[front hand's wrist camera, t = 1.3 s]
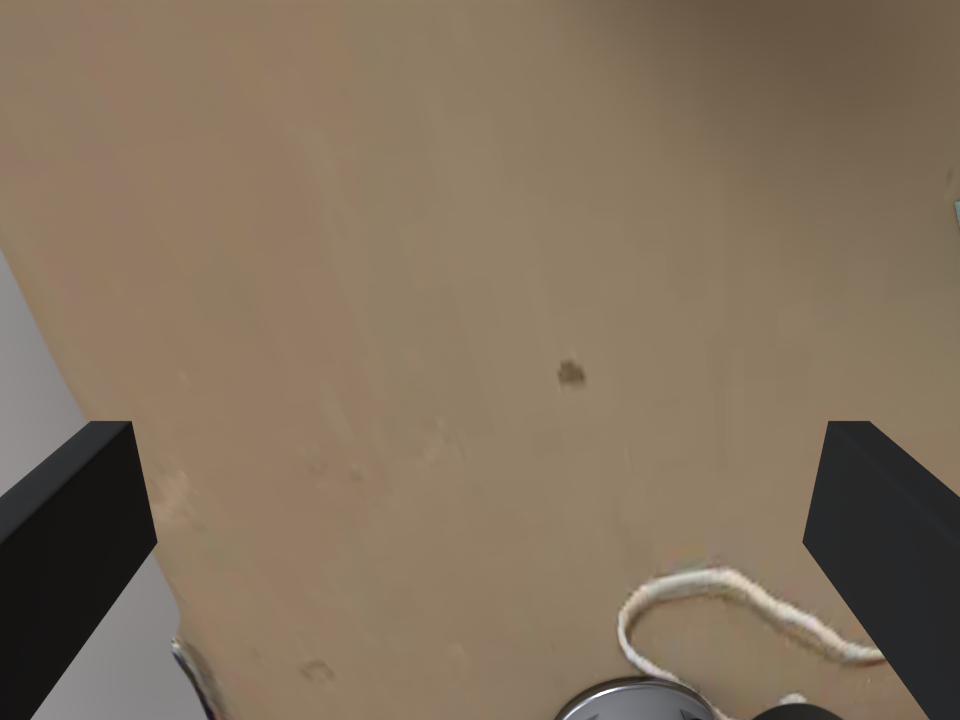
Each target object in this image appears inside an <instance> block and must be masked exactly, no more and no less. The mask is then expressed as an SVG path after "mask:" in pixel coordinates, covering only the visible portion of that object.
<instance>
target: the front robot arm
mask: <svg viewBox="0 0 960 720" xmlns="http://www.w3.org/2000/svg"><path fill="white" fill-rule="evenodd" d="M157 543H158V542H157V537H156V533H155V528H154V523H153V519H152V514H151V509H150V505H149V500H148V495H147V491H146V486H145V481H144V477H143V472H142V468H141V463H140V458H139V454H138V449H137V444H136V440H135V435H134V430H133V426H132V421H90V422H89V423H88V424H87V425H86V426H84V427H83V428H82V429H81V430H80V431H79V432H77V433H76V434H75V435H74V436H73V437H71V438H70V439H69V440H68V441H67V442H65V443H64V444H63V445H62V446H61V447H59V448H58V449H57V450H56V451H55V452H54V453H52V454H51V455H50V456H49V457H48V458H46V459H45V460H44V461H43V462H42V463H40V464H39V465H38V466H37V467H36V468H35V469H33V470H32V471H31V472H30V473H29V474H27V475H26V476H25V477H24V478H23V479H21V480H20V481H19V482H18V483H17V484H16V485H14V486H13V487H12V488H11V489H10V490H8V491H7V492H6V493H5V494H4V495H2V496H1V497H0V720H30V719H31V718H32V716H33V715H34V714H35V712H36V711H37V709H38V708H39V707H40V705H41V704H42V702H43V701H44V700H45V698H46V697H47V696H48V694H49V693H50V691H51V690H52V689H53V687H54V686H55V684H56V683H57V682H58V680H59V679H60V677H61V676H62V675H63V673H64V672H65V671H66V669H67V668H68V666H69V665H70V664H71V662H72V661H73V659H74V658H75V657H76V655H77V654H78V652H79V651H80V650H81V648H82V647H83V645H84V644H85V643H86V641H87V640H88V639H89V637H90V636H91V634H92V633H93V632H94V630H95V629H96V627H97V626H98V625H99V623H100V622H101V620H102V619H103V618H104V616H105V615H106V613H107V612H108V611H109V609H110V608H111V606H112V605H113V604H114V602H115V601H116V600H117V598H118V597H119V595H120V594H121V593H122V591H123V590H124V588H125V587H126V586H127V584H128V583H129V581H130V580H131V579H132V577H133V576H134V575H135V573H136V572H137V570H138V569H139V568H140V566H141V565H142V563H143V562H144V561H145V559H146V558H147V556H148V555H149V554H150V552H151V551H152V549H153V548H154V547H155V545H156V544H157ZM802 543H803V544H804V545H805V547H806V548H807V549H808V551H809V552H810V554H811V555H812V556H813V558H814V559H815V561H816V562H817V563H818V565H819V566H820V568H821V569H822V570H823V572H824V573H825V575H826V576H827V577H828V579H829V580H830V581H831V583H832V584H833V586H834V587H835V588H836V590H837V591H838V593H839V594H840V595H841V597H842V598H843V600H844V601H845V602H846V604H847V605H848V607H849V608H850V609H851V611H852V612H853V613H854V615H855V616H856V618H857V619H858V620H859V622H860V623H861V625H862V626H863V627H864V629H865V630H866V632H867V633H868V634H869V636H870V637H871V639H872V640H873V641H874V643H875V644H876V645H877V647H878V648H879V650H880V651H881V652H882V654H883V655H884V657H885V658H886V659H887V661H888V662H889V664H890V665H891V666H892V668H893V669H894V671H895V672H896V673H897V675H898V676H899V677H900V679H901V680H902V682H903V683H904V684H905V686H906V687H907V689H908V690H909V691H910V693H911V694H912V696H913V697H914V698H915V700H916V701H917V703H918V704H919V705H920V707H921V708H922V710H923V711H924V712H925V714H926V715H927V716H928V718H929V719H930V720H960V497H959V496H958V495H956V494H955V493H954V492H953V491H952V490H950V489H949V488H948V487H947V486H946V485H944V484H943V483H942V482H941V481H940V480H939V479H937V478H936V477H935V476H934V475H933V474H931V473H930V472H929V471H928V470H927V469H925V468H924V467H923V466H922V465H921V464H920V463H918V462H917V461H916V460H915V459H914V458H912V457H911V456H910V455H909V454H908V453H906V452H905V451H904V450H903V449H902V448H901V447H899V446H898V445H897V444H896V443H895V442H893V441H892V440H891V439H890V438H889V437H887V436H886V435H885V434H884V433H883V432H881V431H880V430H879V429H878V428H877V427H876V426H874V425H873V424H872V423H871V422H870V421H828V426H827V430H826V435H825V440H824V444H823V449H822V454H821V458H820V463H819V468H818V472H817V477H816V481H815V486H814V491H813V495H812V500H811V505H810V509H809V514H808V519H807V523H806V528H805V533H804V537H803V542H802ZM554 720H716V718H715V716H714V714H713V712H712V710H711V708H710V707H709V706H708V704H707V703H706V702H705V701H704V700H703V699H702V698H701V697H700V696H699V695H697V694H696V693H695V692H693V691H692V690H690V689H688V688H686V687H684V686H682V685H680V684H677V683H675V682H671V681H668V680H663V679H658V678H650V677H631V678H622V679H616V680H612V681H608V682H605V683H602V684H599V685H596V686H594V687H591V688H589V689H588V690H586V691H584V692H582V693H580V694H579V695H577V696H576V697H575V698H573V699H572V700H571V701H569V702H568V703H567V704H566V705H565V706H564V707H563V708H562V709H561V711H560V712H559V713H558V715H557V716H556V718H555V719H554Z"/></svg>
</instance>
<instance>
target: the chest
mask: <svg viewBox="0 0 960 720" xmlns="http://www.w3.org/2000/svg"><path fill="white" fill-rule="evenodd" d="M954 204H955V209H956V213H957V218H958V222H959V227H960V200H959V201H957V202H955V203H954Z"/></svg>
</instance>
